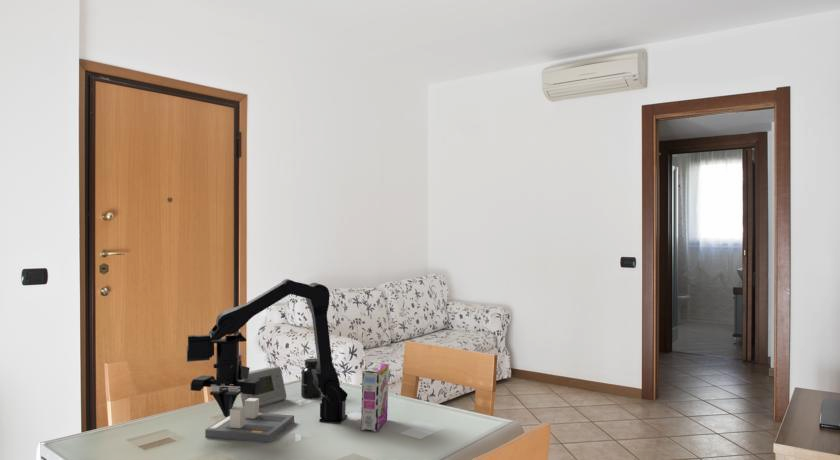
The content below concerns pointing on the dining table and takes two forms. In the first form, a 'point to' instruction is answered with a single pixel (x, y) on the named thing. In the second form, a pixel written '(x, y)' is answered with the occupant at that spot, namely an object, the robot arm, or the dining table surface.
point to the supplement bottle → (309, 380)
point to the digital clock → (267, 386)
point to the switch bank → (252, 428)
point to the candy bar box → (374, 397)
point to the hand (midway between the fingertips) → (227, 416)
